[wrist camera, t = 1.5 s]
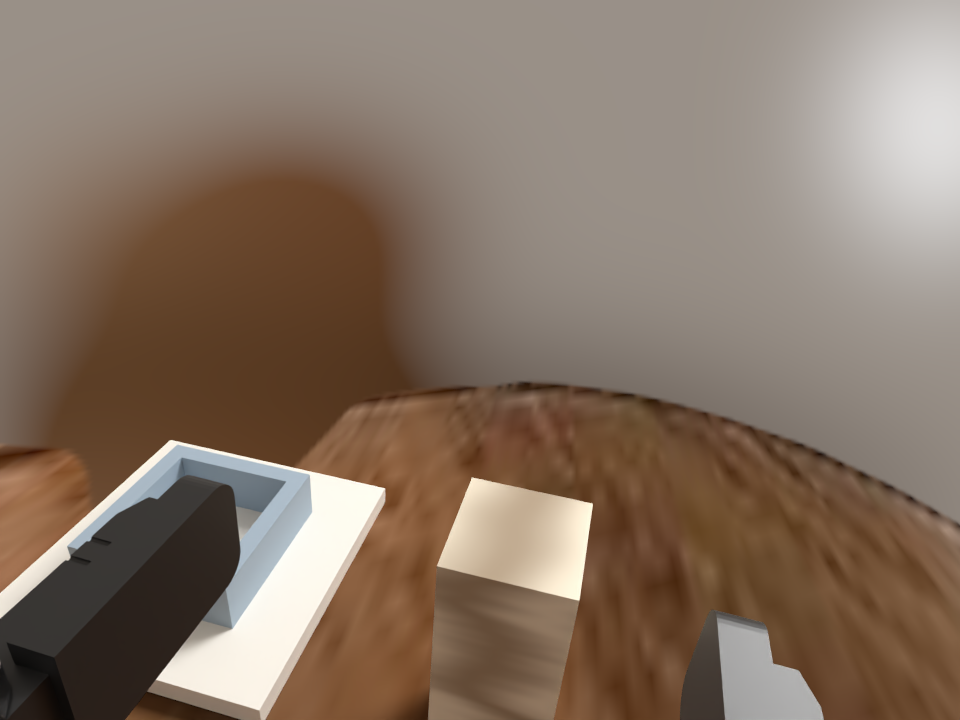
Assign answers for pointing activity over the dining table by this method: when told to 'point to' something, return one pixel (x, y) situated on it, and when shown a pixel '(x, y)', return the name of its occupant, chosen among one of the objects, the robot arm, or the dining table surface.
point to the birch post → (506, 604)
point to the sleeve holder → (244, 571)
